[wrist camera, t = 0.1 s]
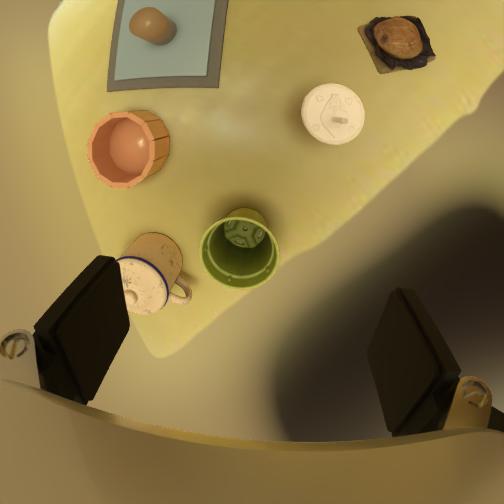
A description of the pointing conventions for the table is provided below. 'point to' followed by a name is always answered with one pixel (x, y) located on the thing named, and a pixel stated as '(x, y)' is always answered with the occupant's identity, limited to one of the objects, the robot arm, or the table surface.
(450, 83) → the table surface
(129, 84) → the mat
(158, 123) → the bowl
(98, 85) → the table surface
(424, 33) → the bread roll
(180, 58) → the cover sheet
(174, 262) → the teacup with lid
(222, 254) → the plant pot
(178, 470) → the robot arm
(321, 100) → the smoothie
